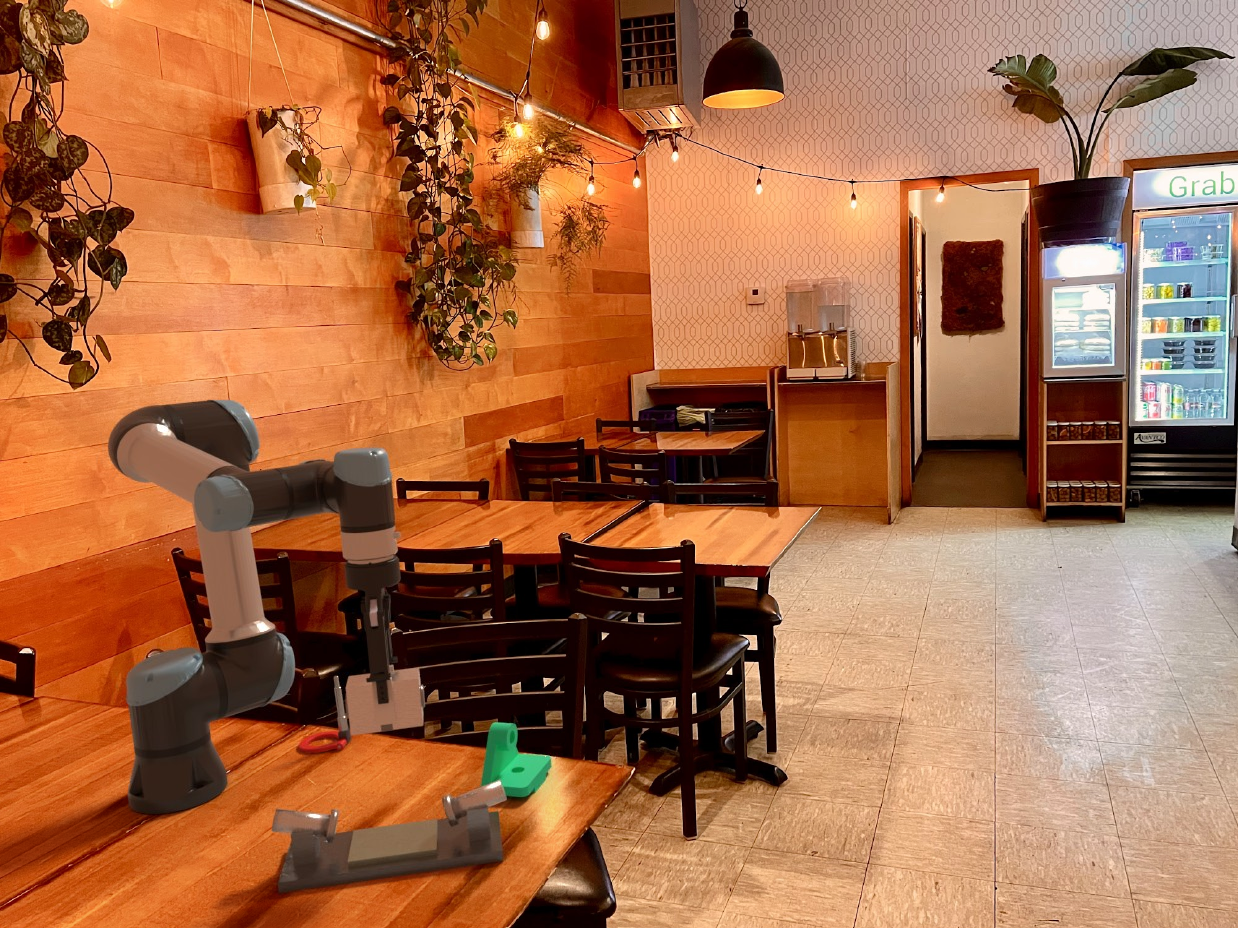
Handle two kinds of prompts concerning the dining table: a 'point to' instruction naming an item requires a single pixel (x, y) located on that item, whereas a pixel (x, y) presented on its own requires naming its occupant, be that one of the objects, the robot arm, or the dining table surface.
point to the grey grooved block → (405, 702)
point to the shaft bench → (390, 843)
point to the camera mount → (512, 763)
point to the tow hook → (341, 735)
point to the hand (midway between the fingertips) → (386, 715)
